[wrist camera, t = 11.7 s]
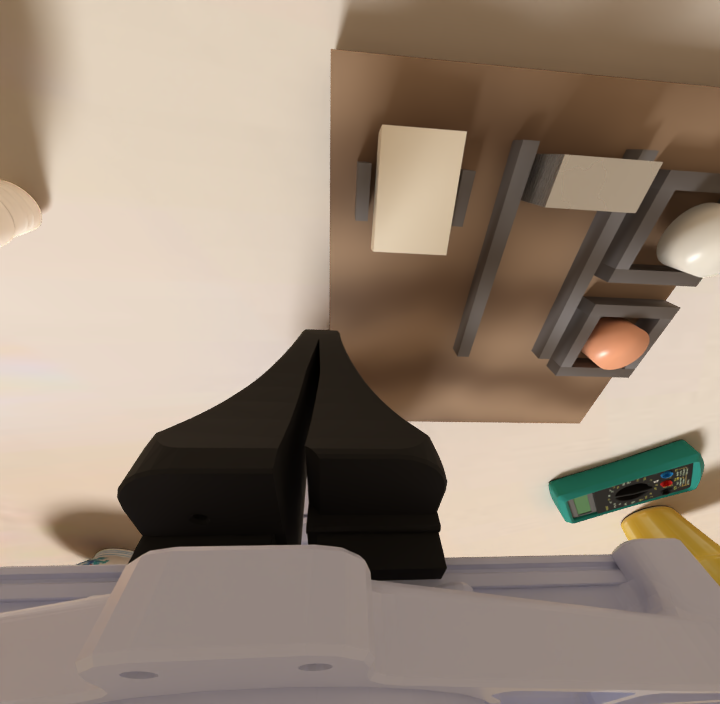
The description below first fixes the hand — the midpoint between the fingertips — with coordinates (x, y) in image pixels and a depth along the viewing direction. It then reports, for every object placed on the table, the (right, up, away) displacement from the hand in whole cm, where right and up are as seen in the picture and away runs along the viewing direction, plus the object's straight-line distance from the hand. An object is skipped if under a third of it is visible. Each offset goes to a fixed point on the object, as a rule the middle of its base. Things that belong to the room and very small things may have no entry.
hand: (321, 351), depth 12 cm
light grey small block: (+12, +9, +3) cm, 15 cm away
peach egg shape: (+18, +1, +9) cm, 21 cm away
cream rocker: (+4, +7, +2) cm, 9 cm away
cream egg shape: (+19, +6, +4) cm, 20 cm away
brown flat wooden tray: (+11, +4, +9) cm, 15 cm away
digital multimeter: (+32, -14, +24) cm, 42 cm away
